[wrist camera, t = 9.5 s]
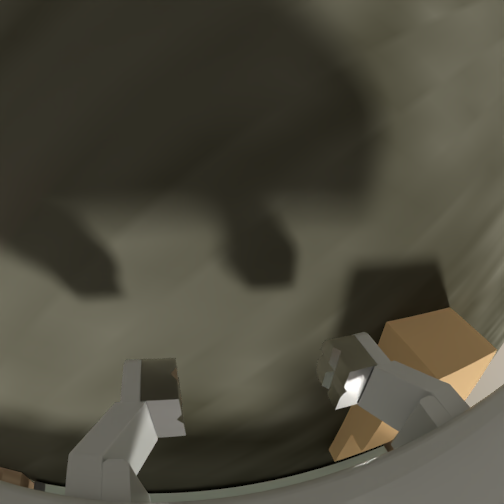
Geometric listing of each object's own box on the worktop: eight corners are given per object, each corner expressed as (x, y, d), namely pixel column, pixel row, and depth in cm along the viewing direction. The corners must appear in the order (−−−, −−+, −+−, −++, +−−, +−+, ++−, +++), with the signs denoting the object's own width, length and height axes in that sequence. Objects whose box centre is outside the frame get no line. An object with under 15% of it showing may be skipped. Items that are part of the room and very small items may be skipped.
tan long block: (382, 318, 14) (438, 379, 10) (446, 304, 15) (497, 349, 11) (326, 446, 18) (350, 493, 15) (381, 427, 20) (407, 468, 16)
